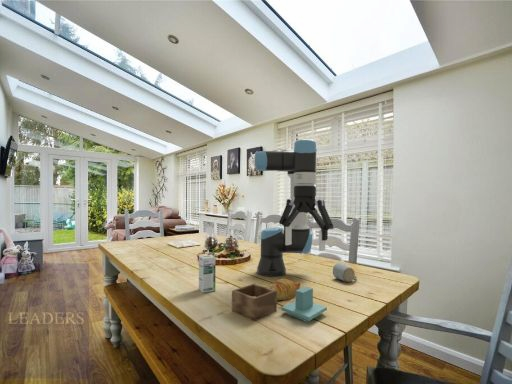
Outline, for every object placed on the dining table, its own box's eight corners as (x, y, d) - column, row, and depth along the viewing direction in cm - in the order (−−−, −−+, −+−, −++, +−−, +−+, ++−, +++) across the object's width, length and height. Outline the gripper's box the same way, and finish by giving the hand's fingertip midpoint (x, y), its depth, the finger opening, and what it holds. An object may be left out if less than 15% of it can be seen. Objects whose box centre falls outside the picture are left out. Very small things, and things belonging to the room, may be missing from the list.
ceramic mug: (343, 283, 127) (344, 267, 127) (332, 278, 134) (332, 263, 134) (361, 281, 131) (361, 265, 131) (348, 276, 139) (349, 261, 139)
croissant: (268, 313, 102) (276, 297, 99) (252, 294, 108) (259, 279, 106) (303, 298, 116) (310, 283, 114) (287, 282, 123) (294, 268, 120)
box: (232, 310, 96) (232, 290, 96) (253, 302, 104) (254, 283, 104) (254, 321, 88) (254, 299, 88) (276, 310, 96) (276, 290, 96)
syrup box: (202, 293, 113) (202, 257, 113) (198, 288, 118) (198, 255, 118) (215, 291, 115) (215, 256, 116) (211, 287, 121) (211, 253, 121)
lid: (281, 314, 93) (281, 289, 93) (300, 305, 101) (300, 282, 101) (309, 325, 86) (309, 297, 86) (326, 314, 94) (326, 289, 94)
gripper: (270, 185, 100) (269, 244, 100) (332, 184, 83) (332, 254, 83) (282, 186, 106) (282, 241, 105) (344, 185, 88) (343, 251, 88)
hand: (304, 247), depth 94 cm, fingers open, 13 cm apart
